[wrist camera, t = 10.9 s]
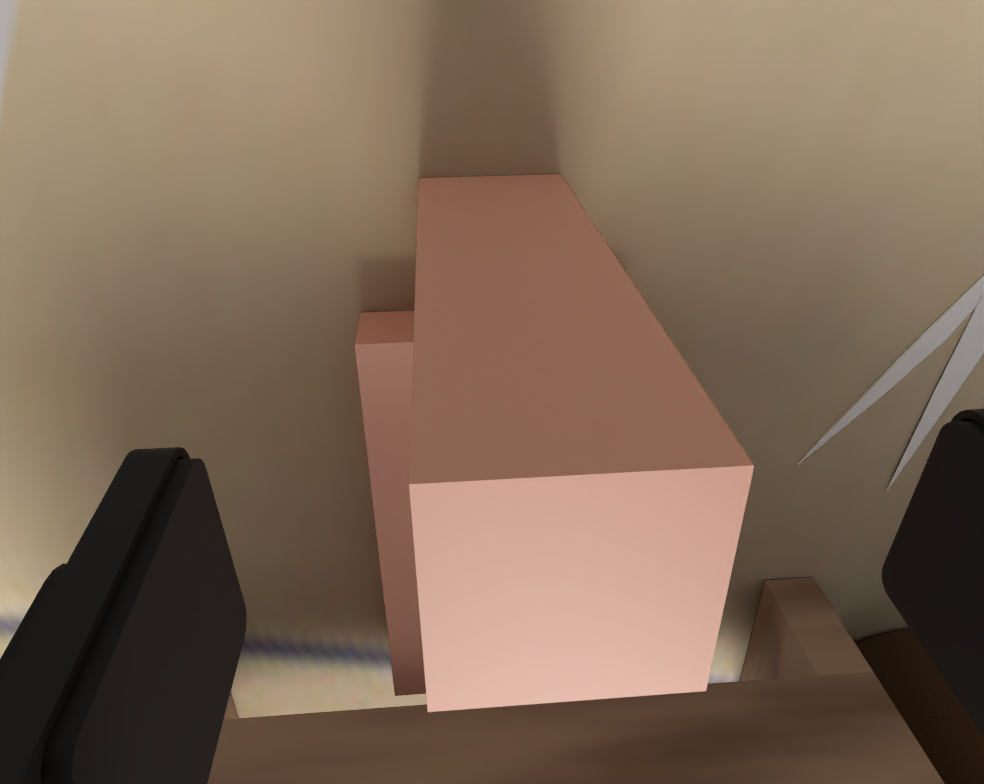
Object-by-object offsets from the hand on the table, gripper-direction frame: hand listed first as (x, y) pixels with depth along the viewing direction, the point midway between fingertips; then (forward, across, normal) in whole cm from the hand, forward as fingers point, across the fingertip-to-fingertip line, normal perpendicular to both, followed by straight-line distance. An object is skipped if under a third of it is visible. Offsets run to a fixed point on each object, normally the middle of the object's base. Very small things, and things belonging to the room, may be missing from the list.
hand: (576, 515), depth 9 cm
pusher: (+13, 0, +9) cm, 16 cm away
